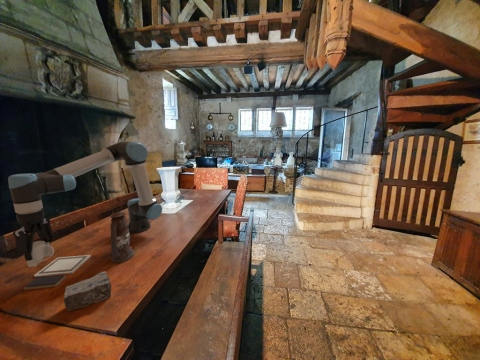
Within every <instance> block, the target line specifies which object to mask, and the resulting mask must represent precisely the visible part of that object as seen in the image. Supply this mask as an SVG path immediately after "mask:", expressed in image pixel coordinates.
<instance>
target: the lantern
mask: <svg viewBox="0 0 480 360" xmlns="http://www.w3.org/2000/svg"><path fill="white" fill-rule="evenodd" d="M116 198H119V202H120V210H119V211H117V212H114V207H113V204H114V199H116ZM122 205H123V204H122V200H121V197H120V196H118V195H117V196H115V197H113V198H112V200H111V211H112V213H111V214H110V215H109V217H110V218H111V219H110V245H111V246H110V249H111V254H112V256H111V257H110V259H111V262H112V263H123V262H127V261H128V260H130V259H132V258H133V257H134V256H135V250H133V247H132V246H131V245H130V244H131V232H129V228H128V224H129V222H128V219H127V217H126V214H127V212H125V211H122V210H123V209H122V208H123V207H122Z"/></svg>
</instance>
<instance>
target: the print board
mask: <svg viewBox="0 0 480 360" xmlns="http://www.w3.org/2000/svg"><path fill="white" fill-rule="evenodd" d="M91 257H92V254H86V255H75V256H73V255H72V256H59V257H57V258H55V259H54V260H53V261H51V262H50V263H48V265H46V266H45V267H43V268H42V269H41V270H39V271H38V272H36V273H35V274H34V275H33V277H34V278H41V277H52V276H62V275H70V274H74V272H76V271H77V270H78V269H80V267H81V266H82V265H84V263H86V261H88V259H90V258H91Z"/></svg>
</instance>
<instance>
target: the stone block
mask: <svg viewBox="0 0 480 360" xmlns="http://www.w3.org/2000/svg"><path fill="white" fill-rule="evenodd" d="M111 296H112V283H111V280H110V278H109V276H108V273H107V271H106V270H105V271H101V272H99V273H97V274H95V275H94V276H92V277H90V278H87V279H84V280H80V281H78V282H75V283H72V284H70V285H67V286H66V287H65V289H64V293H63V302H64V306H65V308H66V311H67V312H71V311H73V310H76V309H82V308H86V307H88V306H90V305H93V304H96V303H100V302H102V301H106V300H107V299H110V298H111Z"/></svg>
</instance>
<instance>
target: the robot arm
mask: <svg viewBox="0 0 480 360" xmlns="http://www.w3.org/2000/svg"><path fill="white" fill-rule="evenodd" d="M148 153H149V152H148V148H147V147H146V146H145V145H144V144H143V143H141V142H138V141H118V142H117V143H114V144H111V145H109V146H106V147H104V148H102V149H101V151H99V152H98V151H97V152H96V153H92V154H90V155H88V156H85V157H83V158H79V159H77V160H74V161H71V162H69V163H66V164H64V165H61V166H59V167H55V168H53V169H50V170H47V171H45V172H37V173H16V174H12V175H9V176H8V178H7V180H8V181H7V182H8V189H9V191H10V195H11V199H12V203H13V207H14V212H15V213H16V214H15V217H16V221H17V223H18V224H20V227H19V228H20V229H18V230H14V231H13V232H12V235H13V236H14V239H15V246H16V247H15V248H16V254H17V256H20V255H23V256H24V260H25V261H26V263H27V266H28V268H30V267H31V268H32V267H38V263H37V261H36V256H35V252H34V251H32V247H33V242H34V238H35V237H34V236H36V235H37V236H38V237H39V239H40V241H45V245H51V242H53V240H54V237H55V236H54V233H53V229H52V226H51V219H50V218H49V217H48V218H45V212H44V209H43V207H44V205H43V202H42V201H43V200H42V196H43V195H47V194H48V195H49V194H56V193H61V192H62V193H63V192H67V191H72V190H74V189H75V188H76V187H77V181H76V178H77V177H78V176H81V175H83V174H86V173H87V172H90V171H92V170H94V169H97V168H100V167H101V166H104V165H106V164H108V163H115V162H118V161H124V163H125V166H127V167H128V168H129V170H130V173H131V177H132V180H133V183H134V186H135V189H136V190H135V191H136V192H137V197H138V198H132V199H130V200H128V201H127V209H128V210H127V211H128V220H129V221H128V228H129V233H130V234H131V233H134V234H136V233H142V232H144V231H147V230H149V229H150V228H151V221H154V220H157V219H159V217H161V214H162V213H163V206H162V204H160V203H158V200H157V198H156V197H154V195H153V191H152V187H151V183H150V180H149V176H148V173H147V169H146V165H145V164H146V163H147V159H148V155H149V154H148ZM51 255H52V250H51V248H50V247H48V246H46V247H45V252H44V257H50V256H51ZM52 256H53V255H52ZM52 256H51V257H52Z"/></svg>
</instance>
